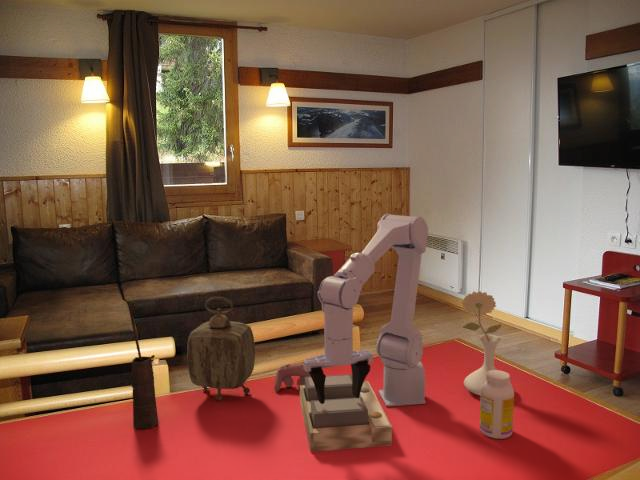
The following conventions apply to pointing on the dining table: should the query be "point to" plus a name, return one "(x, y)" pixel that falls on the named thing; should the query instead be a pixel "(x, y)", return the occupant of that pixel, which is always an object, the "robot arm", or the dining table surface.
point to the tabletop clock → (221, 352)
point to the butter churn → (143, 388)
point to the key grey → (331, 387)
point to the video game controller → (288, 371)
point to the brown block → (339, 413)
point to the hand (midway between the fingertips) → (338, 398)
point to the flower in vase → (481, 338)
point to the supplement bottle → (496, 405)
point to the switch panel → (349, 436)
